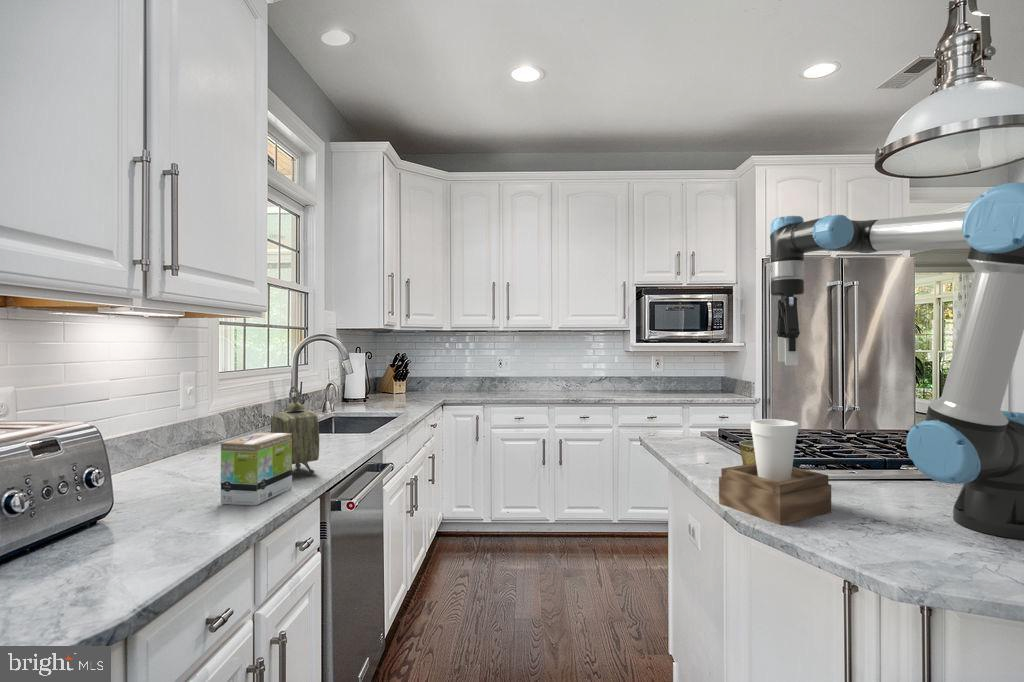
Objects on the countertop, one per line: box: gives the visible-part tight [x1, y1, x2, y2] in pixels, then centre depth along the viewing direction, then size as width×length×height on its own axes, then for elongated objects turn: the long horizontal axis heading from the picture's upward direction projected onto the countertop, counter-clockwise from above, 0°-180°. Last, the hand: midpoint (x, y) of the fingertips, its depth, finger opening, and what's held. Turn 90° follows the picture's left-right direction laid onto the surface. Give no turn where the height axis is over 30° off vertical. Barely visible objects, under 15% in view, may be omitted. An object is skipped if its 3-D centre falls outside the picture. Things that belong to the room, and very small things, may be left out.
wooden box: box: [718, 463, 832, 526], centre depth 123 cm, size 16×16×8 cm
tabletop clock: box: [270, 385, 320, 476], centre depth 159 cm, size 14×9×25 cm, turn 40°
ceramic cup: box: [738, 439, 756, 465], centre depth 145 cm, size 13×10×10 cm
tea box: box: [220, 432, 293, 506], centre depth 138 cm, size 15×10×15 cm, turn 171°
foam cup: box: [750, 418, 799, 482], centre depth 123 cm, size 10×9×13 cm
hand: (787, 363), depth 141 cm, fingers open, 13 cm apart
